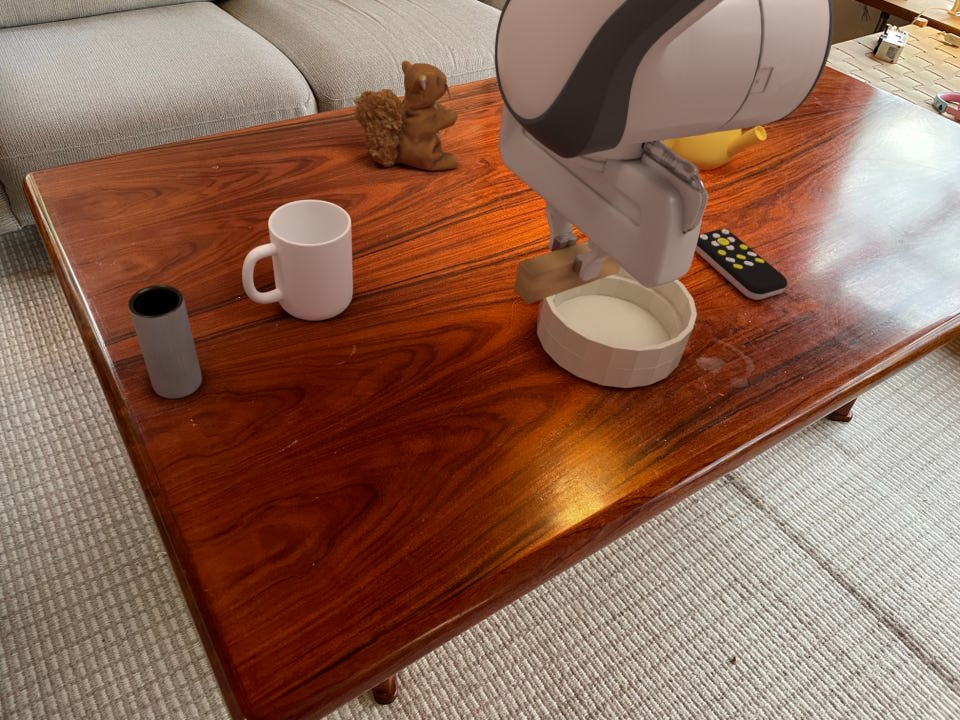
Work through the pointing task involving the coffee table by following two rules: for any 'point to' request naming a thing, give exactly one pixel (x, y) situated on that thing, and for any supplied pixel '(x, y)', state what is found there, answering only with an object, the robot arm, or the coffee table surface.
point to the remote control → (740, 264)
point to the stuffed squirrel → (409, 120)
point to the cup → (306, 260)
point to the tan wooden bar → (555, 273)
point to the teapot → (715, 146)
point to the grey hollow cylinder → (166, 340)
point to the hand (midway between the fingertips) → (572, 263)
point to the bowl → (617, 330)
